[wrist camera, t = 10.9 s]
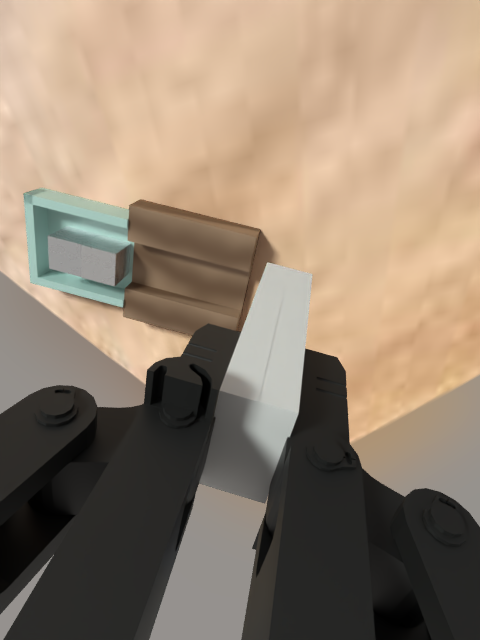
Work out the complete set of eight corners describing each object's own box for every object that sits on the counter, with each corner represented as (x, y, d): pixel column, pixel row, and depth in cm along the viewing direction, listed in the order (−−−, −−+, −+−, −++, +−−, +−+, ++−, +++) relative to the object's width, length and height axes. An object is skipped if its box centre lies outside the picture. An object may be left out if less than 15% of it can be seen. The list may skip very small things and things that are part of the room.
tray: (41, 187, 47) (23, 193, 44) (139, 212, 46) (127, 219, 43) (46, 272, 52) (30, 282, 49) (133, 296, 52) (122, 307, 49)
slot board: (140, 199, 45) (129, 205, 43) (260, 229, 44) (256, 237, 42) (133, 306, 52) (123, 316, 50) (236, 333, 52) (232, 346, 49)
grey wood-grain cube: (99, 234, 48) (81, 245, 44) (131, 242, 47) (115, 254, 44) (98, 265, 50) (81, 277, 46) (129, 273, 49) (114, 286, 46)
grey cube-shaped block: (67, 225, 48) (47, 235, 44) (99, 234, 48) (81, 244, 44) (68, 256, 50) (49, 268, 46) (98, 264, 50) (81, 277, 46)
